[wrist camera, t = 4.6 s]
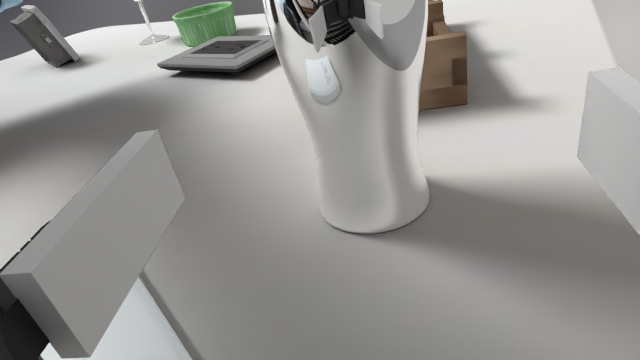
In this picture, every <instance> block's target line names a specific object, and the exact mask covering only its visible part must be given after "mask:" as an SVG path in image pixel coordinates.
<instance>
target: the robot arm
mask: <svg viewBox="0 0 640 360" xmlns="http://www.w3.org/2000/svg"><path fill="white" fill-rule="evenodd" d="M22 1H23V0H0V12H2V11H3V10H4V9H7V8H10V7H13V6H16V5H18V4H20V3H21V2H22ZM577 157H578V159H579V160H580V161H581V162H582V164H583V165H584V166H585V168H586V169H587V170H588V171H589V173H590V174H591V175H592V176H593V178H594V179H595V180H596V181H597V183H598V184H599V185H600V186H601V188H602V189H603V190H604V191H605V193H606V194H607V195H608V196H609V198H610V199H611V200H612V201H613V203H614V204H615V205H616V207H617V208H618V209H619V210H620V212H621V213H622V214H623V215H624V217H625V218H626V219H627V220H628V222H629V223H630V224H631V225H632V227H633V228H634V229H635V230H636V232H637V233H638V234H639V235H640V82H638V81H637V80H635V79H634V78H633V77H631V76H630V75H628V74H627V73H626V72H624V71H623V70H621V69H620V68H612V69H605V70H597V71H590V72H588V80H587V87H586V94H585V102H584V109H583V116H582V124H581V131H580V138H579V146H578V153H577ZM184 199H185V196H184V193H183V191H182V188H181V186H180V183H179V181H178V178H177V176H176V174H175V171H174V169H173V166H172V164H171V161H170V159H169V156H168V154H167V151H166V149H165V147H164V144H163V142H162V139H161V137H160V134H159V132H158V129H157V130H149V131H142V132H136V133H135V134H134V135H133V136H132V137H131V138H130V139H129V140H128V141H127V142H126V143H125V144H124V145H123V147H122V148H121V149H120V150H119V151H118V152H117V153H116V154H115V155H114V156H113V157H112V158H111V159H110V160H109V161H108V162H107V163H106V164H105V165H104V166H103V167H102V168H101V169H100V170H99V171H98V172H97V173H96V175H95V176H94V177H93V178H92V179H91V180H90V181H89V182H88V183H87V184H86V185H85V186H84V187H83V188H82V189H81V190H80V191H79V192H78V193H77V194H76V195H75V196H74V197H73V198H72V199H71V200H70V201H69V203H68V204H67V205H66V206H65V207H64V208H63V209H62V210H61V211H60V212H59V213H58V214H57V215H56V216H55V217H54V218H53V219H52V220H51V221H49V222H48V223H46V224H45V225H43V226H42V227H41V228H40V229H39V230H38V231H37V233H36V234H35V235H34V236H33V237H32V238H31V241H28V242H27V243H26V244H25V245H24V246H23V247H22V248H21V249H20V250H21V251H20V252H17V253H16V254H15V255H14V256H13V257H12V258H11V259H10V260H9V261H8V262H7V263H6V264H5V265H4V266H3V267H2V268H1V269H0V360H44V359H43V358H42V357H41V353H42V352H43V351H44V349H45V348H46V346H47V345H48V343H50V344H51V345H52V347H53V348H54V349H55V350H56V352H57V353H58V354H59V356H60V357H61V358H62V359H66V358H90V357H91V355H92V354H93V352H94V350H95V349H96V347H97V345H98V344H99V342H100V340H101V339H102V337H103V335H104V333H105V332H106V330H107V328H108V327H109V325H110V323H111V322H112V320H113V318H114V317H115V315H116V313H117V312H118V310H119V308H120V307H121V305H122V303H123V302H124V300H125V298H126V297H127V295H128V293H129V292H130V290H131V288H132V287H133V285H134V283H135V281H136V280H137V278H138V276H139V275H140V273H141V271H142V270H143V268H144V266H145V265H146V263H147V261H148V260H149V258H150V256H151V255H152V253H153V251H154V250H155V248H156V246H157V245H158V243H159V241H160V240H161V238H162V236H163V235H164V233H165V231H166V229H167V228H168V226H169V224H170V223H171V221H172V219H173V218H174V216H175V214H176V213H177V211H178V209H179V208H180V206H181V204H182V203H183V201H184Z"/></svg>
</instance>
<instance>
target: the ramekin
mask: <svg viewBox="0 0 640 360" xmlns="http://www.w3.org/2000/svg"><path fill="white" fill-rule="evenodd" d="M172 18H173V20H174V22H175V23H176V25H177V27H178V29H179V32H180V34H181V36H182V39H183V41H184V43H185V44H186V45H187V46H191V47H196V46H198V45H200V44H202V43H205V42H207V41H209V40H211V39H213V38H216V37H220V36H234V35H235V34H236V25H235V20H234V15H233V4H232V2H217V3H211V4H206V5H201V6H197V7H193V8H190V9H187V10H184V11H181V12H178V13H176V14H175V15H173V17H172Z"/></svg>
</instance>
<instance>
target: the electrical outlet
mask: <svg viewBox="0 0 640 360" xmlns="http://www.w3.org/2000/svg"><path fill="white" fill-rule="evenodd" d="M275 52H276V50H275V47H274V44H273V42H272V38H271V35H263V36H220V37H216V38H213V39H211V40H209V41H207V42H205V43H202V44H200V45H198V46H196V47H193V48H191V49H189V50H187V51H185V52H182V53H180V54H178V55H176V56H174V57H171V58H169V59H167V60H165V61H162V62H160V63H158V64H157V65H158V67H160V68H163V69H167V70H179V71H208V72H236V73H239V72H241V71H242V70H244V69H246V68H248V67H250V66H252V65H253V64H255V63H257V62H259V61H261V60H262V59H264V58H266V57H268V56H270V55H271V54H273V53H275Z"/></svg>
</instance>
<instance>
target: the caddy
mask: <svg viewBox="0 0 640 360" xmlns="http://www.w3.org/2000/svg"><path fill="white" fill-rule="evenodd" d="M462 104H467V62H466V34H465V33H464V31H463V32H456V33H451V31H450V30H449V28H448V26H447V25H446V23H445V21H444V15H443V2H442V0H437V1H434V0H428V22H427V37H426V50H425V59H424V68H423V77H422V85H421V93H420V101H419V110H424V109H431V108H439V107H447V106H454V105H462Z"/></svg>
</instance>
